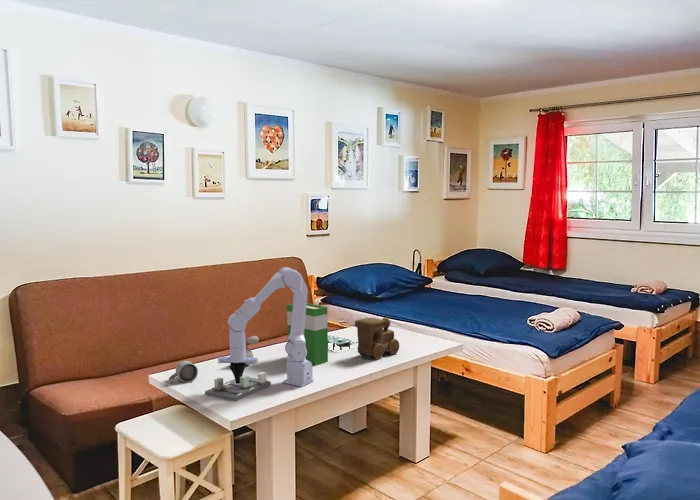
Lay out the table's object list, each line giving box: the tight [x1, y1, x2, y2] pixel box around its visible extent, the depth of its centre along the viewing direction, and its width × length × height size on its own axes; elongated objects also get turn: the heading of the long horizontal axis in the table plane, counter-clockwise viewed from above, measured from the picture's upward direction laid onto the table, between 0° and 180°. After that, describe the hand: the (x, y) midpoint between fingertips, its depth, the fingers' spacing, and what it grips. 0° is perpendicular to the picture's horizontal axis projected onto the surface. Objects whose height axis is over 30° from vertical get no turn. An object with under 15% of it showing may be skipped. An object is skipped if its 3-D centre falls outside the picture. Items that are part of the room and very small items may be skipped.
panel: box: [204, 376, 272, 402], centre depth 205 cm, size 14×20×2 cm
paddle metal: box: [211, 377, 226, 391], centre depth 201 cm, size 4×3×4 cm
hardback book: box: [286, 302, 329, 367], centre depth 241 cm, size 18×7×24 cm, turn 47°
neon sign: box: [328, 334, 354, 350], centre depth 270 cm, size 21×4×29 cm
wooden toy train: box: [354, 317, 400, 360], centre depth 248 cm, size 20×11×17 cm, turn 135°
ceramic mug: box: [168, 360, 199, 384], centre depth 215 cm, size 10×8×7 cm
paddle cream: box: [256, 371, 269, 385], centre depth 207 cm, size 4×3×4 cm
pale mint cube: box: [238, 374, 251, 388], centre depth 203 cm, size 4×3×4 cm
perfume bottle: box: [245, 335, 260, 366], centre depth 236 cm, size 8×10×12 cm
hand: (238, 382), depth 205 cm, fingers closed
